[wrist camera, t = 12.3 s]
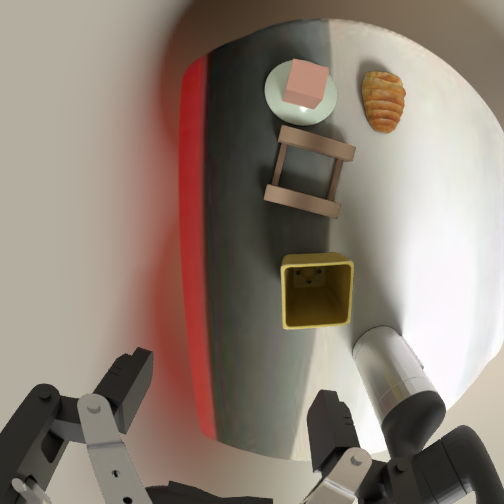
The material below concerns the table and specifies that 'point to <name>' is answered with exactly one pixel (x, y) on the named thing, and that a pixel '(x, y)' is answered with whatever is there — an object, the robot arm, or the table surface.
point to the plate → (291, 111)
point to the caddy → (319, 146)
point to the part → (306, 84)
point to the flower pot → (316, 290)
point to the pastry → (383, 100)
